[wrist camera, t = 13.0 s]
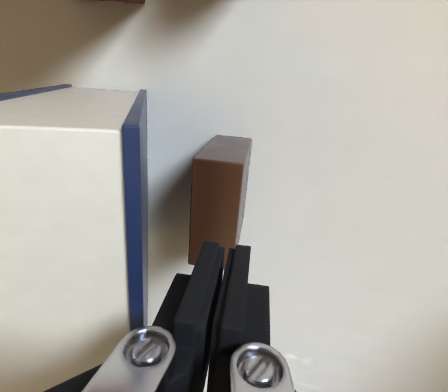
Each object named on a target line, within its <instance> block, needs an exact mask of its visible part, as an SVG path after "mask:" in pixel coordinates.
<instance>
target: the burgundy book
mask: <svg viewBox="0 0 448 392" xmlns="http://www.w3.org/2000/svg"><path fill="white" fill-rule="evenodd" d="M99 1H115V2H132V3H145V0H99Z"/></svg>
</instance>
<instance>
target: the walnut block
mask: <svg viewBox="0 0 448 392" xmlns="http://www.w3.org/2000/svg"><path fill="white" fill-rule="evenodd" d="M251 146H252V139H251V138H241V137H232V136H222V135H216V136H215V137H214V138H213V139H212V140H211V141H210V142H209V143H208V144H207V145H206V146H205V147H204V148H203V149H202V150H201V151H200V152H199V153H198V154H197V155H196V156H195V157H194V158H193V162H192V185H191V208H190V231H189V254H188V263H189V264H191V265H195V264H196V261H197V259H198V256H199V254H200V251H201V248H202V246H203V243H204V241H213V242H220V247H225V254H224V265H223V269H224V270H225V266H226V261H227V257H228V252H229V248H235V246H236V245H238V242H239V237H240V232H241V227H242V222H243V216H244V208H245V199H246V190H247V181H248V172H249V163H250V155H251Z"/></svg>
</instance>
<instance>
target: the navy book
mask: <svg viewBox="0 0 448 392" xmlns="http://www.w3.org/2000/svg"><path fill="white" fill-rule="evenodd" d="M147 303H148V176H147V92H146V90H142V89H141V90H140V92H133V91H119V90H105V89H90V88H76V87H72V85H71V84H62V85H56V86H49V87H42V88H35V89H29V90H22V91H15V92H8V93H1V94H0V392H44V391H46V390H48V389H50V388H52V387H54V386H56V385H58V384H60V383H62V382H65V381H67V380H69V379H71V378H73V377H75V376H77V375H79V374H81V373H83V372H86V371H88V370H90V369H92V368H94V367H96V366H98V365H100V364H102V363H104V362H105V361H106V359H107V358H108V357H109V355H110V354H111V353H112V351H113V350H114V349H115V347H116V346H117V345H118V344H119V342H120V341H121V340H122V339H123V338H124V337H125V336H126V335H127V334H128V333H129V332H131V331H133V330H134V329H137V328H140V327H143V326H147Z"/></svg>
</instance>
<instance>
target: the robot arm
mask: <svg viewBox="0 0 448 392" xmlns="http://www.w3.org/2000/svg"><path fill="white" fill-rule="evenodd" d="M250 250H251V247H250V246H243V245H236V246H235V248H229V252H228V257H227V261H226V266H225V270H224V275H223V265H224V254H225V247H220V242H213V241H204V243H203V246H202V248H201V251H200V254H199V256H198V259H197V261H196V264H195V266H194V269H193V272H192V274H191V275H186V274H179V273H177V274H176V275H175V277H174V279H173V282H172V284H171V286H170V288H169V290H168V292H167V294H166V297H165V299H164V301H163V303H162V305H161V307H160V309H159V312H158V314H157V316H156V318H155V320H154V322H153V324H152V326H143V327H140V328H137V329H134V330H133V331H131V332H129V333H128V334H127V335H126V336H125V337H124V338H123V339H122V340H121V341H120V342H119V344H118V345H117V346H116V347H115V349H114V350H113V351H112V353H111V354H110V355H109V357H108V358H107V359H106V361H105V362H104V363H102V364H100V365H98V366H96V367H94V368H92V369H90V370H88V371H86V372H83V373H81V374H79V375H77V376H75V377H73V378H71V379H69V380H67V381H65V382H62V383H60V384H58V385H56V386H54V387H52V388H50V389H48V390H46V391H44V392H203V390H204V385H205V380H206V376H207V371H208V366H209V372H208V384H207V392H296V391H295V390H294V386H293V382H292V378H291V374H290V370H289V367H288V364H287V362H286V360H285V358H284V357H283V356H282V355H281V353H280V352H278V351H277V350H276V349H274V348H273V347H271V346H270V311H269V286H262V285H255V284H249V283H248V272H249V261H250ZM222 276H223V280H222Z"/></svg>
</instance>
